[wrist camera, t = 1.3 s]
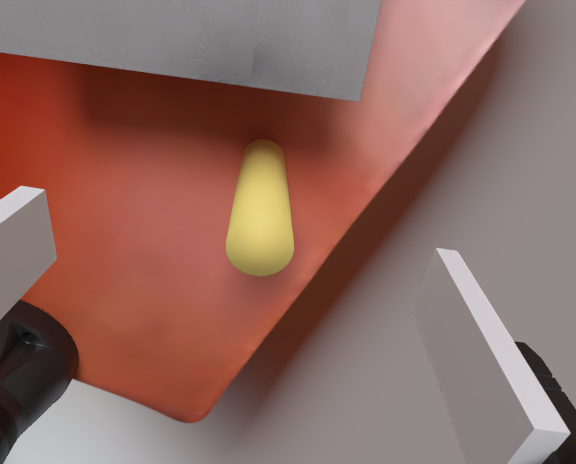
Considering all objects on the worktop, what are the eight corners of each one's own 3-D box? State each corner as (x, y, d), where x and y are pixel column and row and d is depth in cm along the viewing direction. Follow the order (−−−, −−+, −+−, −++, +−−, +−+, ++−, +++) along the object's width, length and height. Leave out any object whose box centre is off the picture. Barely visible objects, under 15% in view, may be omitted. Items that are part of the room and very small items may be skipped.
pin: (281, 182, 34) (289, 278, 22) (239, 178, 34) (223, 273, 22) (287, 142, 32) (298, 221, 20) (243, 136, 32) (228, 214, 20)
